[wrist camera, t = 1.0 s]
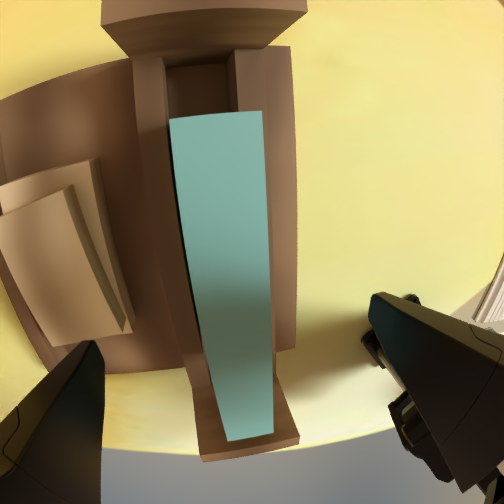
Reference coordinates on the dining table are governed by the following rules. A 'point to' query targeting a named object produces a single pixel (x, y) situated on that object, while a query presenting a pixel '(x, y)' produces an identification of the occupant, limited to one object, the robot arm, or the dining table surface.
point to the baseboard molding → (492, 299)
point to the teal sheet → (229, 259)
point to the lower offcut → (93, 210)
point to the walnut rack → (168, 177)
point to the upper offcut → (60, 269)
